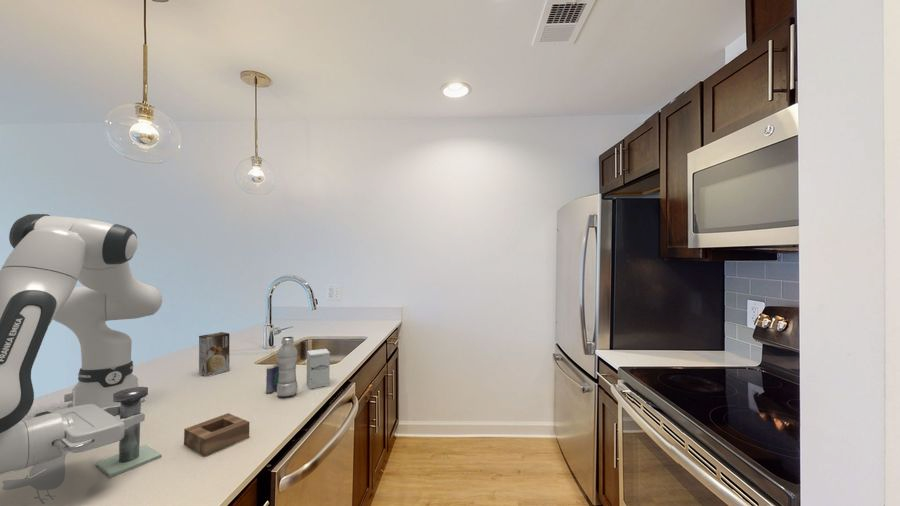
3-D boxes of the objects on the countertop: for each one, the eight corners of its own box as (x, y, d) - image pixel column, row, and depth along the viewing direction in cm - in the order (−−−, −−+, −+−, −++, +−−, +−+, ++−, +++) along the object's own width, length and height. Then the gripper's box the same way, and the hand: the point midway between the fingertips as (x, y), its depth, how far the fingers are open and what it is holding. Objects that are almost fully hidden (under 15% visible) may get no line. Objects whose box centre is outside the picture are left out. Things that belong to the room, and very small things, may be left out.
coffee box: (222, 368, 149) (222, 331, 150) (229, 371, 146) (230, 333, 146) (197, 374, 141) (198, 335, 142) (205, 377, 138) (206, 337, 138)
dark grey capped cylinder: (106, 461, 79) (109, 393, 79) (140, 448, 84) (142, 385, 85) (116, 468, 76) (118, 397, 76) (150, 455, 81) (152, 389, 82)
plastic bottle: (289, 399, 115) (290, 340, 116) (272, 398, 116) (272, 339, 117) (301, 392, 121) (302, 336, 122) (284, 391, 123) (285, 335, 123)
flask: (268, 394, 120) (269, 363, 120) (263, 392, 121) (264, 362, 122) (292, 386, 128) (292, 357, 128) (287, 384, 129) (287, 356, 130)
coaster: (95, 465, 78) (95, 462, 78) (145, 446, 86) (145, 444, 86) (110, 477, 74) (110, 474, 74) (161, 456, 81) (161, 454, 81)
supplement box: (308, 389, 124) (309, 354, 125) (306, 383, 131) (306, 350, 131) (329, 386, 128) (330, 352, 128) (326, 380, 134) (326, 347, 135)
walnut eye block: (183, 444, 87) (184, 428, 87) (227, 427, 96) (228, 413, 96) (204, 456, 82) (205, 439, 82) (249, 437, 91) (249, 421, 91)
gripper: (62, 435, 64) (154, 407, 76) (34, 411, 74) (119, 390, 86) (60, 469, 64) (153, 436, 76) (33, 440, 74) (118, 415, 86)
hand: (135, 411), depth 81 cm, fingers open, 8 cm apart
